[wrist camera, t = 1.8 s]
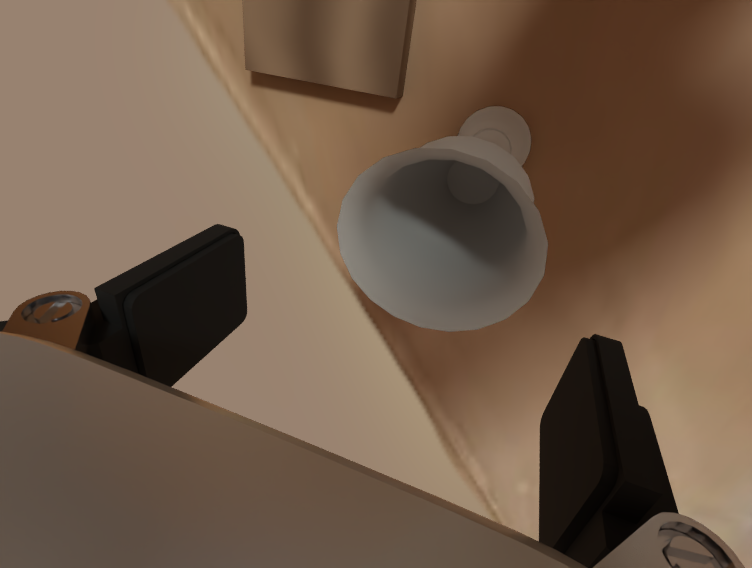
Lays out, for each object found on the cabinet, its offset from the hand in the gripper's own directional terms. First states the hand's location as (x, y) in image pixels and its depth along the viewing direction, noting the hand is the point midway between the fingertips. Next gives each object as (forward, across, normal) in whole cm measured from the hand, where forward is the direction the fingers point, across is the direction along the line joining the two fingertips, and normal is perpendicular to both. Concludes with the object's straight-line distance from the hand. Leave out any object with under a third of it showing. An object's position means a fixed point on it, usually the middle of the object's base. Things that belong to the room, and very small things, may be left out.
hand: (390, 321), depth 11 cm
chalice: (+22, 0, -1) cm, 22 cm away
